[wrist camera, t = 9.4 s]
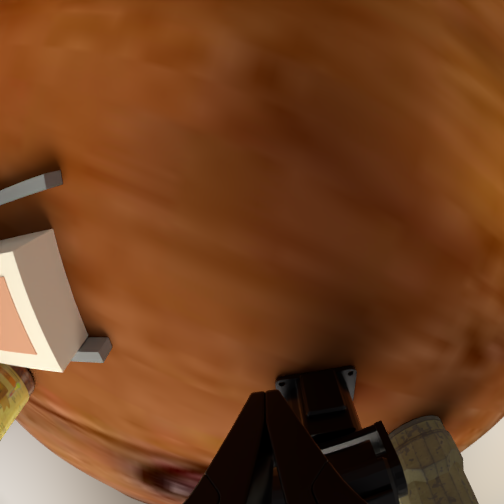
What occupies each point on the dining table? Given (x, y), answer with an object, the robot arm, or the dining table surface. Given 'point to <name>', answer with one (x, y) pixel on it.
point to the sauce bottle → (13, 393)
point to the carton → (37, 305)
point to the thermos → (431, 463)
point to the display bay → (92, 346)
